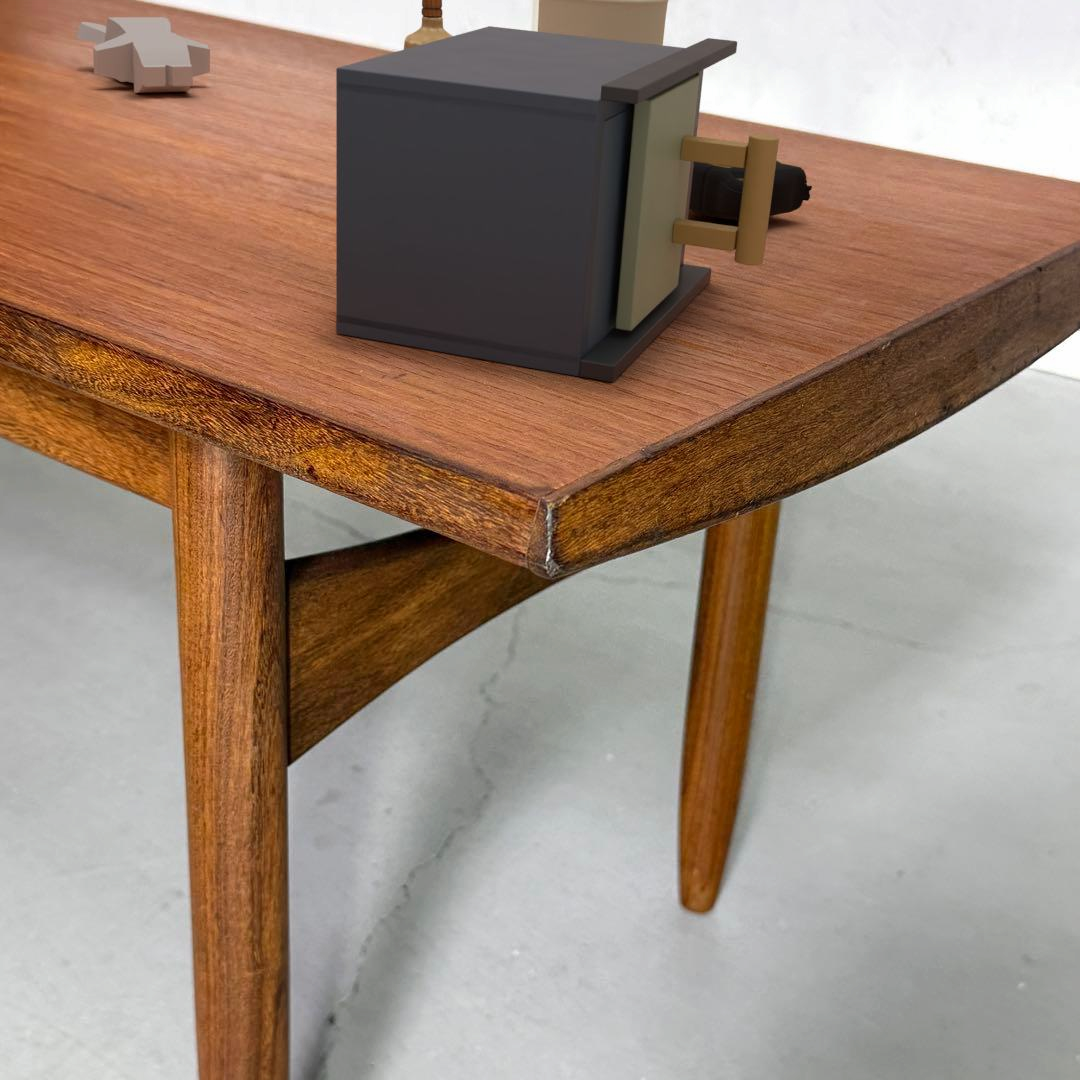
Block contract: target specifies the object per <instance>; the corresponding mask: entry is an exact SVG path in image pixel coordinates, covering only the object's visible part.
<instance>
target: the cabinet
mask: <svg viewBox="0 0 1080 1080" xmlns="http://www.w3.org/2000/svg"><path fill="white" fill-rule="evenodd" d="M737 48H738V41H736V40H729V39H719V38H711V37H708V38H705V39H703V40H701V41H698V42H696V43H694V44H692V45H689V46H687V47H682V46H681V47H679V46H671V45H664V44H663V45H654V44H645V43H636V42H627V41H618V40H609V39H600V38H591V37H582V36H573V35H564V34H555V33H546V32H538V30H537V31H535V30H527V29H519V28H508V27H499V26H492V25H491V26H485V27H482V28H481V27H480V28H478V29H477V28H476V29H473V30H470V31H467V32H462V33H459V34H456V35H452V37H448V38H445V39H441V40H437V41H434V42H430V43H426V44H423V45H419V46H415V47H412V48H408V49H404V48H403V49H401V50H398V51H394V52H390V53H387V54H383V55H378V56H376V57H375V56H374V57H372V58H369V59H364V60H361V61H357V62H354V63H349V64H347V65H343V66H342V65H341V66H339V67H336V74H335V76H336V77H335V78H336V80H335V82H336V83H335V84H336V85H335V87H336V89H335V90H336V96H335V97H336V98H335V99H336V102H335V103H336V105H335V106H336V109H335V110H336V117H335V118H336V123H335V124H336V125H335V126H336V127H335V128H336V131H335V132H336V133H335V135H336V136H335V138H336V141H335V142H336V146H335V147H336V148H335V149H336V156H335V157H336V163H335V164H336V168H335V169H336V184H335V185H336V187H335V189H336V191H335V192H336V195H335V196H336V197H335V199H336V201H335V202H336V204H335V205H336V207H335V208H336V216H335V217H336V219H335V220H336V226H335V227H336V230H335V231H336V237H335V239H336V243H335V244H336V245H335V246H336V251H335V252H336V256H335V257H336V262H335V263H336V272H335V273H336V275H335V276H336V282H335V283H336V284H335V285H336V289H335V290H336V291H335V292H336V294H335V295H336V296H335V297H336V301H335V302H336V303H335V305H336V315H335V333H336V334H338V335H343V336H350V337H355V338H359V339H366V340H370V341H371V340H372V341H377V342H382V343H383V342H384V343H389V344H394V345H400V346H404V347H405V346H406V347H411V348H415V349H416V348H417V349H423V350H428V351H433V352H439V353H446V354H450V355H455V356H460V357H461V356H462V357H467V358H473V359H479V360H484V361H490V362H495V363H501V364H507V365H512V366H519V367H524V368H529V369H534V370H540V371H545V372H551V373H556V374H562V375H567V376H574V377H580V378H586V379H591V380H597V381H602V382H607V383H614V382H615V381H616V380H617V379H618V378H619V377H620V376H621V375H622V373H624V371H626V369H628V367H630V365H631V364H632V363H633V362H634V361H635V360H636V359H637V358H638V357H639V356H640V355H641V354H642V353H643V352H644V351H645V350H646V349H647V348H648V347H649V346H651V344H652V343H653V342H654V341H655V340H656V339H657V338H658V337H659V335H660V334H662V332H663V331H664V330H665V329H666V328H667V327H668V326H669V325H670V324H671V323H672V322H673V321H674V320H675V319H676V318H677V317H678V316H679V315H680V314H681V312H683V310H685V309H686V308H687V306H688V305H689V304H690V303H691V302H692V301H693V300H694V299H695V298H696V297H697V296H698V295H699V294H700V293H701V292H702V291H703V290H704V289H705V288H706V287H707V286H708V285H709V284H710V283H711V279H712V278H711V277H712V268H711V267H706V266H700V265H694V264H686V263H684V260H685V253H686V252H685V250H686V245H685V244H682V250H681V260H680V270H679V279H678V286H677V287H676V288H675V289H674V290H673V291H672V292H671V293H670V294H669V295H668V296H667V297H666V298H665V299H663V300H662V301H661V302H660V303H659V304H658V305H657V306H656V307H655V308H654V309H653V310H652V311H651V312H650V313H649V314H648V315H647V316H646V317H645V318H644V319H643V320H642V321H641V322H640V323H639V324H638V325H637V326H636V327H635V328H634V329H633V330H631V331H627V330H621V329H616V327H615V326H616V315H617V303H618V291H619V280H620V268H621V256H622V245H623V233H624V222H625V210H626V198H627V187H628V175H629V163H630V152H631V140H632V129H633V117H634V105H635V104H638V103H640V102H642V101H644V100H646V99H648V98H650V97H652V96H653V95H655V94H657V93H659V92H661V91H663V90H665V89H667V88H669V87H671V86H673V85H675V84H677V83H679V82H681V81H683V80H684V79H686V78H688V77H690V76H692V75H698V76H699V87H698V96H697V106H696V116H695V125H694V135H693V136H696V137H698V135H697V134H698V128H699V116H700V110H701V109H700V108H701V100H702V99H701V97H702V88H703V78H704V70H706V69H708V68H710V67H712V66H713V65H716V64H717V63H719V62H722V61H724V60H726V59H727V58H729V57H731V56H733V55H736V54H737ZM693 166H694V162H693V161H691V164H690V173H689V183H688V193H687V202H686V212H685V219H686V220H689V213H690V210H689V204H690V195H691V185H692V176H693Z"/></svg>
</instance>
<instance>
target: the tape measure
mask: <svg viewBox="0 0 1080 1080" xmlns="http://www.w3.org/2000/svg"><path fill="white" fill-rule="evenodd" d="M744 175H745V167H744V168H738V167H730V166H723V165H715V164H708V163H700V162H694V166H693V176H692V185H691V195H690V204H689V212H693V213H694V214H697V215H700V216H704V217H710V218H711V217H712V218H717V219H723V220H733V221H734V220H735V221H736V222H739V216H740V208H741V199H742V191H743V183H744ZM812 189H813V186H812V185H808V179H807V174H806V172H805V170H804V169H803V168H802V167H800V166H797V165H792V164H787V163H781V162H780V161H778V159H776V167H775V175H774V183H773V190H772V198H771V206H770V214H769V218H770V217H774V216H777V215H784V214H789V213H792V212H794V211H796V210H799V209H800V208H801V206H802V205H803V202H804V201H806V202H808V201H809V200H810V198H811V194H810V191H812Z"/></svg>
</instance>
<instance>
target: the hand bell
mask: <svg viewBox="0 0 1080 1080" xmlns="http://www.w3.org/2000/svg"><path fill="white" fill-rule="evenodd" d="M421 7H422V8H421V15H422V17H421V26H420V27H419V28H418V29H417V30H416V31H414V32H412V33H410V34H407V36H406V37H405V39H404V43H403V50H404V49H408V48H412V47H415V46H419V45H423V44H426V43H430V42H434V41H437V40H441V39H445V38H448V37H452V36H453V35H452V34H451V33H449V32H448V31H446V29H445V27H444V19H443V8H442V7H443V0H421Z"/></svg>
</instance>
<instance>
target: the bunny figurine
mask: <svg viewBox="0 0 1080 1080" xmlns="http://www.w3.org/2000/svg"><path fill="white" fill-rule="evenodd" d="M171 25H172V24H171V21H170V20H169V19H168V18H167V17H164V16H143V17H142V16H137V17H136V16H133V17H130V16H129V17H127V16H123V17H117V16H115V17H114V16H113V17H111V16H110V17H107V18H106V25H102V24H101V23H100V24H99V23H97V22H96V23H95V22H90V21H82V22H80V24H79V27H78V30H77V32H76V35H75V38H76V39H77V40H81V41H86V42H90V43H94V44H96V45H94V46H92V54H93V74H95V75H96V76H101V77H106V78H111V79H114V80H117V81H118V82H121V83H132V84H133V91H134V94H155V93H158V94H159V93H160V94H161V93H188V92H189V91H190V88H191V86H193V82H194V81H193V80H194V79H193V78H195V77H199V76H203V75H205V74H209V73H211V49H210V47H209V45H208V44H206V43H202V42H200V41H197V40H193V39H191V38H187V37H184V36H181V35H178V34H177V33H174V32H172V26H171Z"/></svg>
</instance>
